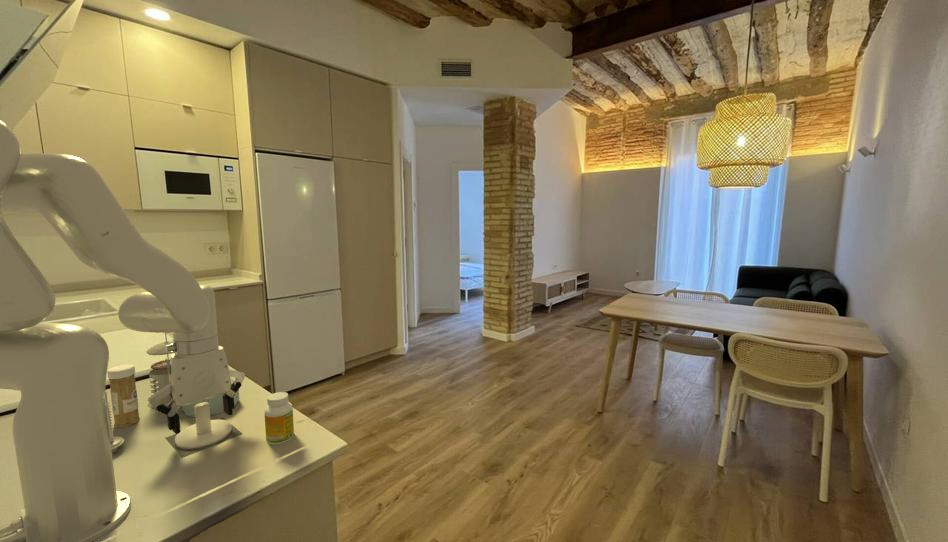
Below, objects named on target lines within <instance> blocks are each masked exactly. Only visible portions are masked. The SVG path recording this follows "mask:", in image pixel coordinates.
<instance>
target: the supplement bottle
mask: <svg viewBox="0 0 948 542" xmlns="http://www.w3.org/2000/svg"><path fill="white" fill-rule="evenodd" d="M266 400H267V401H266V404H267V406H266V407H265V409H264V425H265V426H264V428H265V441H266V443H268V444H270V445H280V444H284V443H286V442H288V441H290V440H292V439H293V438H294V435H295V427H294V425H295V424H294V410H293V409H294V408H293V404H292V403H291V401H290V400H289V394H288V392H286V391H285V392H284V391H280V392H278V391H277V392H274V393H271V394H269V395H268V396H267V399H266Z"/></svg>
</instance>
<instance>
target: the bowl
mask: <svg viewBox="0 0 948 542" xmlns="http://www.w3.org/2000/svg"><path fill="white" fill-rule="evenodd" d="M230 380H231V385H232V384H233V382H234V381H235V379H232V378H230ZM226 383H227V382H226ZM224 394H225V393H223V394H221V395H218V396H214V397H211V398H208V399H205V400H201V401H198V402H195V403H191V404H188V405H182V406H181V407H182V408H181V410H182V411H183V412H184V414H185V415H186V416H187V417H190V418H195V408H194V406H195V405H196V404H199V403H202V402H208V403H209V407H210V417H211V416H216V415H219V414H221V413H225V412H224V408H223V395H224ZM239 400H240V389H239V390H238V391H237V392H236V395H235V396H234V407H236V405H237V404H238V401H239Z"/></svg>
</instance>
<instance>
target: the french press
mask: <svg viewBox="0 0 948 542" xmlns="http://www.w3.org/2000/svg"><path fill="white" fill-rule="evenodd" d="M164 336H165V341H163V342H160V343H157V344H155V345H153V346H152V347H150V348H148V349H147V350H146V351H145V352H146V354H147V355H149V356H165V355H166V357H167V358H165V359H164V360H160V361H157V362H154V363H153V364H151V365H150V369H151V370H150V371H149V372H148V373H149V379H152V380H149V383H150V385H149V386H150V392H151V396H152V395H154V394H155V393H157V392H158V391H159V390H161V389H162V388H164V387H165V386H167V385H168V384H169V366H170V359H169V355H170V354H171V355H172V354H175V353H174V352H171V351H170V352H166V350H165V346H166V345H170V344H172V341H168V338H167V333H164ZM151 384H152V385H151ZM151 389H152V390H151ZM151 396H150V397H151ZM171 400H172V399H171V398H170V395H169V394H168V395H166V396H165V397H164V398H162V399H161V400H160V403H161V404H164V405H166V406H167V405H168V404H169V402H170V401H171ZM147 407H149V408H150V407H152V408H151V409H155V408H154V407H153V406H152V405H151V404H150V403H148V402H147Z"/></svg>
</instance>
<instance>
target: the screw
mask: <svg viewBox="0 0 948 542" xmlns="http://www.w3.org/2000/svg"><path fill="white" fill-rule="evenodd" d="M105 396H106V409H107V417H108V426H109V434H110V442H111V451H112V454H114V453H116V452H117V451H118V449H119V447H120V446H122V445H123V444H124V442H125V437H122V436H117V435H115V436H114V433H113V432H114V429H113V422H112V421H113V420H112V418H113V417H112V411H111V408H110V407H111V405H110V402H109V401H108V394H107V392H106V391H105Z"/></svg>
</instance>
